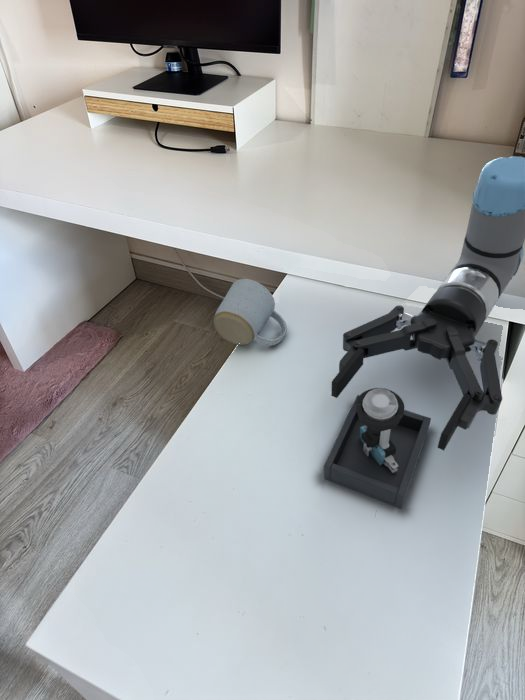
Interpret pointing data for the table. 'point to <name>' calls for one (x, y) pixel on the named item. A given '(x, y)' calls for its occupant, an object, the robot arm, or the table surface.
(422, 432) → the tray
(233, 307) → the ceramic mug
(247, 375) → the table surface
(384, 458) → the push button
